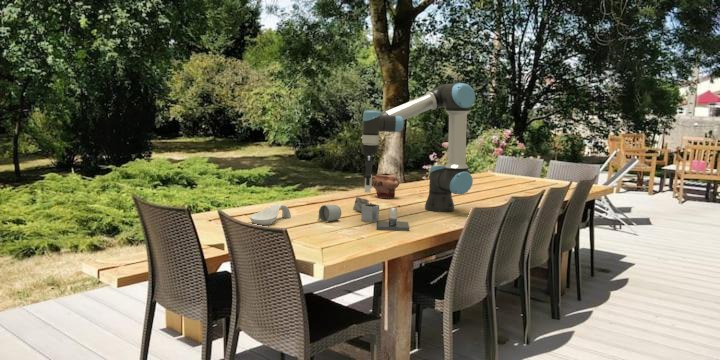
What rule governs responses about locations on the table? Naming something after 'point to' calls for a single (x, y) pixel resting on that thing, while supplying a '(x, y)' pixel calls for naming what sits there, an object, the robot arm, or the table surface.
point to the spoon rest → (269, 215)
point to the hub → (370, 213)
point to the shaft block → (392, 222)
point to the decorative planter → (385, 185)
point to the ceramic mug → (329, 213)
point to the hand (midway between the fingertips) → (368, 190)
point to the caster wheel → (360, 204)
